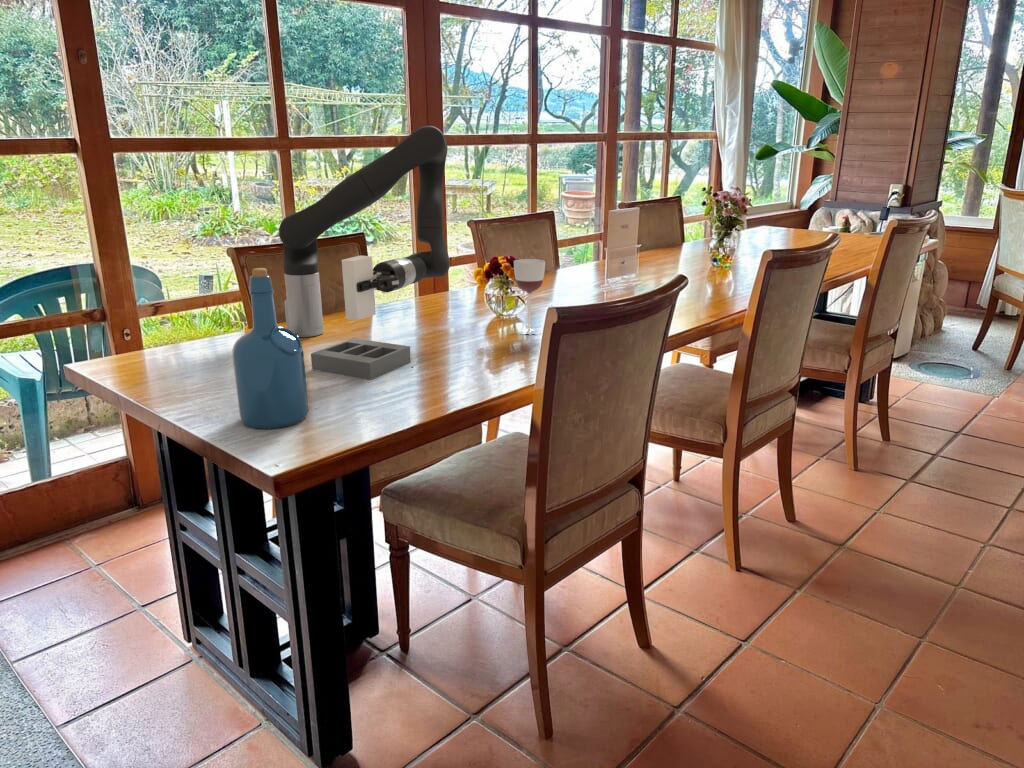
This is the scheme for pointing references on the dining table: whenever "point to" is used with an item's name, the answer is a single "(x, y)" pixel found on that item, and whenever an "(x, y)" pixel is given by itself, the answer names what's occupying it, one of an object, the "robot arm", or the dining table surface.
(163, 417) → the dining table surface
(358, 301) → the white box
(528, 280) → the wineglass
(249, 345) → the wine bottle
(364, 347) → the rack
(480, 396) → the dining table surface
